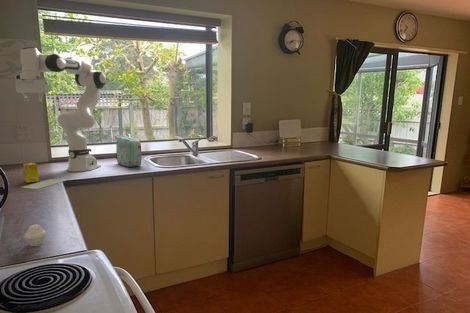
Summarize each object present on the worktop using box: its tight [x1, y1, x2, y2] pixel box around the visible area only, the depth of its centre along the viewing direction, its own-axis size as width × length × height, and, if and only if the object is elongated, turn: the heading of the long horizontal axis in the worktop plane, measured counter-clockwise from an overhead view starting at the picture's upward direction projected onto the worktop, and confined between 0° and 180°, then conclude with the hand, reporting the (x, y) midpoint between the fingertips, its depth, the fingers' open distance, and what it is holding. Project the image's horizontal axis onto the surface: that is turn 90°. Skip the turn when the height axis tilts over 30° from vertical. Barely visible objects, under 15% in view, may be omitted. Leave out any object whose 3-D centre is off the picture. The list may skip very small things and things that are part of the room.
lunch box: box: [115, 135, 142, 168], centre depth 243 cm, size 27×10×21 cm, turn 42°
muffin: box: [24, 224, 47, 247], centre depth 109 cm, size 6×6×7 cm
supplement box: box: [22, 162, 40, 185], centre depth 191 cm, size 6×6×11 cm
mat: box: [20, 178, 66, 190], centre depth 188 cm, size 20×11×1 cm, turn 163°
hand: (33, 101), depth 191 cm, fingers open, 8 cm apart
